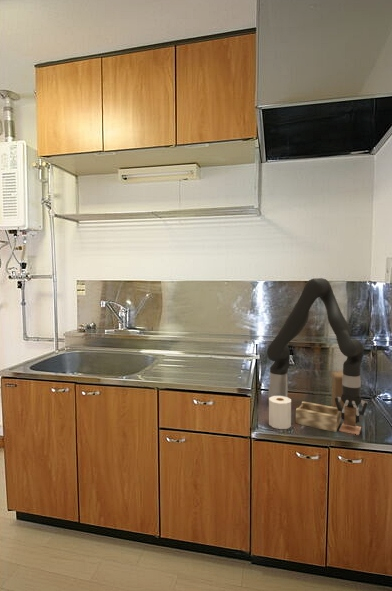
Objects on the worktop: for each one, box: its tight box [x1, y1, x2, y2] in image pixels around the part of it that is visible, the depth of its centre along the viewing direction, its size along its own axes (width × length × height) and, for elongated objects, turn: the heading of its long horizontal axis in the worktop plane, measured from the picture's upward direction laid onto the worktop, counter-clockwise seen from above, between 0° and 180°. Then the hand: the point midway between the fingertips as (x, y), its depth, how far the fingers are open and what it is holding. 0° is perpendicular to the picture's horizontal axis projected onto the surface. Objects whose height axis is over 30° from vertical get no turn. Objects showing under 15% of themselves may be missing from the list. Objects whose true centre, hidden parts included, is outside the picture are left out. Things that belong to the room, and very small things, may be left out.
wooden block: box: [330, 370, 344, 416], centre depth 175 cm, size 10×10×20 cm
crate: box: [295, 401, 342, 433], centre depth 163 cm, size 18×12×7 cm, turn 58°
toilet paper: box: [268, 396, 292, 430], centre depth 162 cm, size 10×10×12 cm
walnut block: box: [343, 406, 357, 427], centre depth 156 cm, size 4×5×8 cm
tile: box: [338, 422, 362, 436], centre depth 156 cm, size 8×8×1 cm
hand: (350, 421), depth 156 cm, fingers closed on walnut block, 4 cm apart
